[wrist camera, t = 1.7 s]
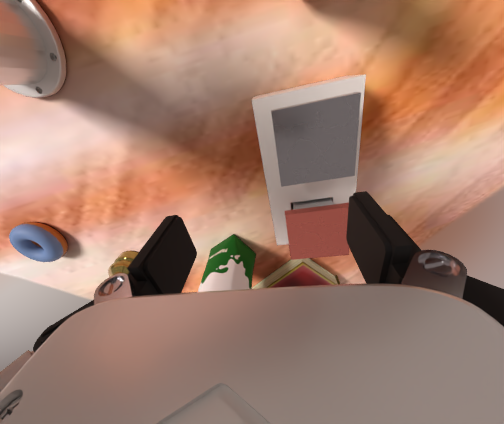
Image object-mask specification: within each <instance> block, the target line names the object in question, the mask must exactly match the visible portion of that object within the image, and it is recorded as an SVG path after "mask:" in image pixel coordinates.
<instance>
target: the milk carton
mask: <svg viewBox="0 0 504 424" xmlns="http://www.w3.org/2000/svg"><path fill="white" fill-rule="evenodd" d="M255 258H256V254H255V253H254V252H253V251H252V250H251V249H250V248H249V247H248V246H247V245H245V244H244V243H243V242H242V241H241V240H240V239H239V238H238V237H237V236H235V235H234V234H233V235H232V236H230V237H229V238H227V239H226V240H224V241H223V242H221V243H220V244H218V245H217V246H215V247H214V248H212V249H211V251H210V255H209V259H208V262H207V265H206V269H205V272H204V275H203V278H202V281H201V284H200V287H199V290H198V292H205V291H222V290H240V289H251V287H252V274H253V268H254V263H255Z"/></svg>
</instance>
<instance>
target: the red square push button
mask: <svg viewBox="0 0 504 424" xmlns="http://www.w3.org/2000/svg"><path fill="white" fill-rule="evenodd" d="M348 207H349V203H341V204H333V202H332V200H331V198H330V197H329V198H321V199H314V200H307V201H299V202H292V208H293V210H287V211H285V219H286V226H287V233H288V241H289V248H290V256H291V260H295V259H306V258H317V257H328V256H339V255H349V245H348V243H347V239H346V234H347V220H348Z"/></svg>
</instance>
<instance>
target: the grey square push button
mask: <svg viewBox="0 0 504 424" xmlns="http://www.w3.org/2000/svg"><path fill="white" fill-rule="evenodd" d="M360 100H361V92H354V93H349V94H344V95H339V96H335V97H330V98H325V99H321V100H316V101H311V102H306V103H302V104H297V105H292V106H287V107H283V108H278V109H273V110H271V114H272V122H273V129H274V136H275V144H276V151H277V159H278V166H279V174H280V181H281V187H283V186H290V185H296V184H303V183H310V182H317V181H323V180H330V179H337V178H343V177H350V176H355V165H356V152H357V139H358V126H359V113H360Z"/></svg>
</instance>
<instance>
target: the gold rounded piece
mask: <svg viewBox="0 0 504 424" xmlns="http://www.w3.org/2000/svg"><path fill="white" fill-rule="evenodd" d="M137 254H138V252H134V251H126V252H123V253H121V254H120V256H119V257H118V258H117V259H116V260H115V262H114V263H113V264H112V265H111V266H110V267H109V269H108V274H109V276H110V277H111V276H113V275H116V274H119V273H125V274H127V275H128V273H129V271H128V269H127V267H128V266H129V265H130V263H131V262H132V261H133V259H134V258H135V257H136V256H137Z"/></svg>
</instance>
